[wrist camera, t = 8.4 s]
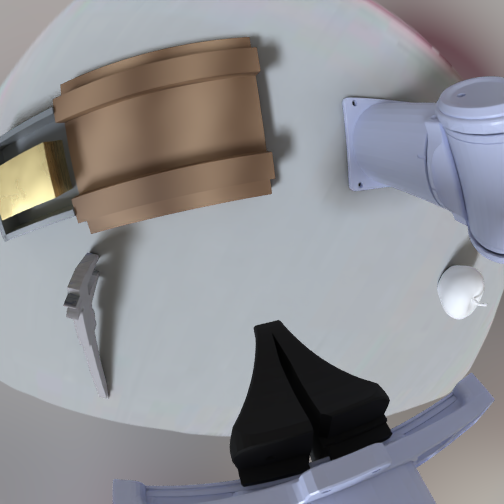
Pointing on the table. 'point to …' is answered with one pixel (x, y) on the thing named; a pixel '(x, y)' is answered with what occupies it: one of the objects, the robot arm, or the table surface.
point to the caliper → (86, 316)
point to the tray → (21, 141)
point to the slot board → (166, 133)
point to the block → (33, 178)
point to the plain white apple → (460, 290)
